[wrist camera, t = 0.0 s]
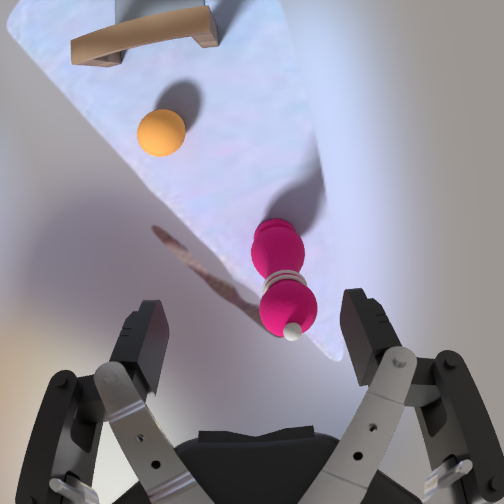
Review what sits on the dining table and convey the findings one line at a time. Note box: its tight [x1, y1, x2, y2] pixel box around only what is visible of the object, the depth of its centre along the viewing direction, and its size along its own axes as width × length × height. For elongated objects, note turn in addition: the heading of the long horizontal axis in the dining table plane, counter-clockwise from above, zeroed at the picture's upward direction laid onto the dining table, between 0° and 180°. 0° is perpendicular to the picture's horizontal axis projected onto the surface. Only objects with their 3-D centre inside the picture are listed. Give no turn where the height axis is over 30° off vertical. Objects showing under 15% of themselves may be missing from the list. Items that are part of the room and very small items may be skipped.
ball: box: [137, 109, 186, 157], centre depth 33 cm, size 6×6×6 cm
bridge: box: [71, 5, 218, 67], centre depth 25 cm, size 3×15×10 cm, turn 93°
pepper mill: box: [251, 219, 317, 341], centre depth 35 cm, size 7×7×20 cm
